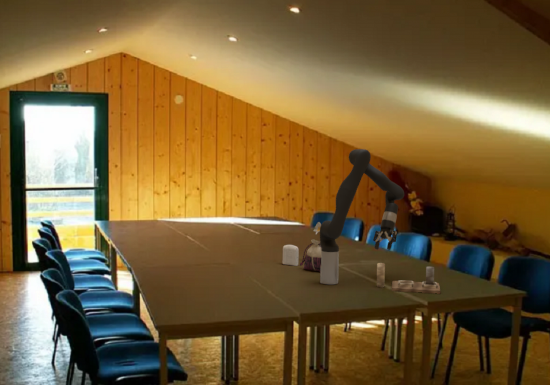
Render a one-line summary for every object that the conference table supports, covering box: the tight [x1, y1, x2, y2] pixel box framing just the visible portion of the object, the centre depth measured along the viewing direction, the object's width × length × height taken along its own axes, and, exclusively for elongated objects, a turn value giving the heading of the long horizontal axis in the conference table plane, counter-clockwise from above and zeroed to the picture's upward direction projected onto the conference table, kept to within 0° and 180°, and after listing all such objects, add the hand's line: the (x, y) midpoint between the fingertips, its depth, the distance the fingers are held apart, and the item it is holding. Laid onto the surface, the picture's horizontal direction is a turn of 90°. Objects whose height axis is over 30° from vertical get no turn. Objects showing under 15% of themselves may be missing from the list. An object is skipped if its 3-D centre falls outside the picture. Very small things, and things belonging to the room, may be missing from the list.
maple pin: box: [376, 262, 386, 288], centre depth 323 cm, size 4×4×12 cm
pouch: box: [298, 238, 322, 273], centre depth 362 cm, size 25×8×19 cm, turn 52°
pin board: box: [391, 266, 441, 295], centre depth 319 cm, size 24×18×12 cm
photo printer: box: [282, 244, 300, 267], centre depth 380 cm, size 10×4×12 cm, turn 60°
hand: (382, 249), depth 335 cm, fingers open, 8 cm apart
